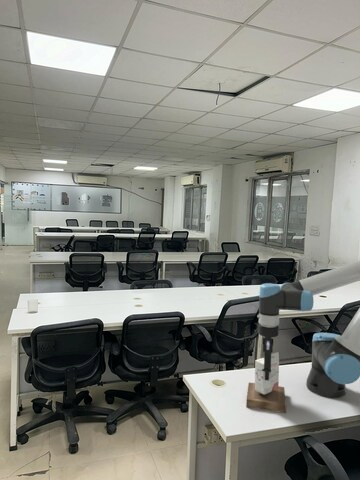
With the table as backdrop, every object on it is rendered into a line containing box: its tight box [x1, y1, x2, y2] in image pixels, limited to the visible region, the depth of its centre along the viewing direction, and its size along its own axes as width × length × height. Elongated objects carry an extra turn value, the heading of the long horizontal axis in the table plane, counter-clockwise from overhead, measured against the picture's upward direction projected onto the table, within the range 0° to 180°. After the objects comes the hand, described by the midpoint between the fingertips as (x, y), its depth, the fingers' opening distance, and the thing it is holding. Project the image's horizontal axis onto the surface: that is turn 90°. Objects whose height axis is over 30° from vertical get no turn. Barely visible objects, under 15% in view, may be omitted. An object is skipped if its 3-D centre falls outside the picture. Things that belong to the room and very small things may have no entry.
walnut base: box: [245, 382, 287, 414], centre depth 135 cm, size 14×14×3 cm
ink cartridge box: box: [254, 351, 280, 395], centre depth 135 cm, size 9×5×15 cm, turn 126°
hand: (266, 381), depth 135 cm, fingers closed on ink cartridge box, 9 cm apart
